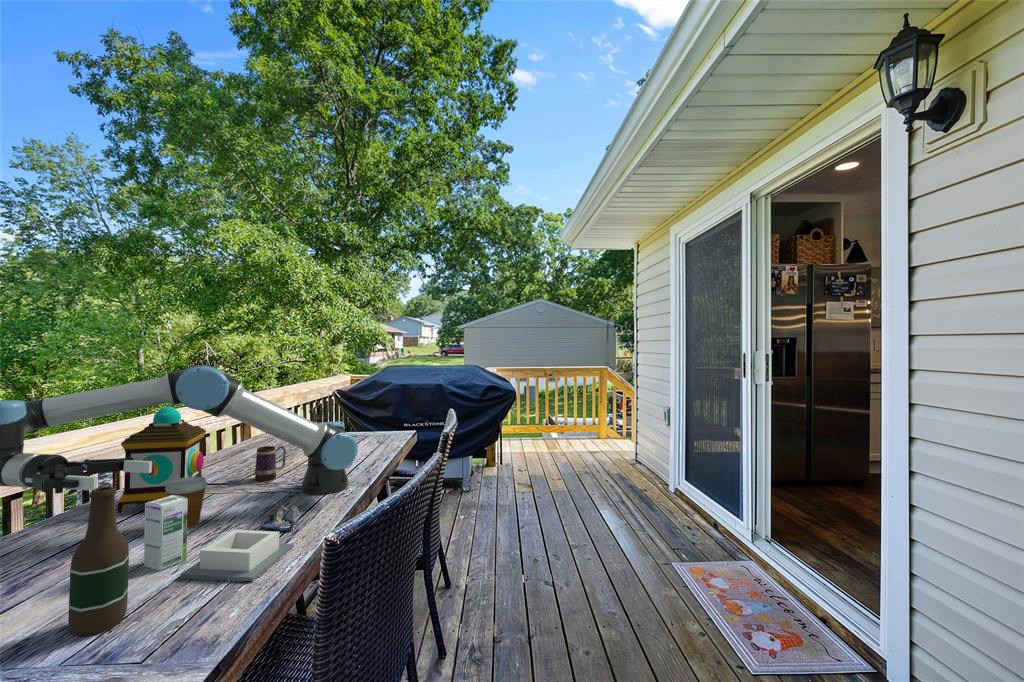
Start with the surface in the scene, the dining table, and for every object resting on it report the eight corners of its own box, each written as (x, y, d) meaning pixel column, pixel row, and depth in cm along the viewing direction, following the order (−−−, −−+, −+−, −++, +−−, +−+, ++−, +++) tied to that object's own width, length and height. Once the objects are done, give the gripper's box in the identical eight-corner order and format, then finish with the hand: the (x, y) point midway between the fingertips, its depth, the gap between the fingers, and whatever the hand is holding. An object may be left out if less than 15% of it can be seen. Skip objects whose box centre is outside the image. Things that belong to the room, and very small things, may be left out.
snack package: (317, 522, 128) (288, 514, 133) (315, 501, 127) (286, 493, 132) (280, 545, 118) (250, 535, 123) (277, 523, 117) (248, 513, 122)
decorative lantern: (211, 489, 153) (214, 402, 154) (190, 510, 134) (193, 410, 135) (140, 494, 147) (143, 403, 147) (108, 516, 128) (111, 411, 128)
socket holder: (231, 545, 112) (232, 525, 112) (293, 548, 111) (294, 528, 111) (180, 578, 96) (180, 554, 96) (252, 582, 95) (253, 558, 95)
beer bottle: (93, 611, 83) (98, 482, 84) (138, 610, 84) (142, 482, 84) (54, 639, 76) (59, 495, 76) (103, 637, 76) (108, 495, 77)
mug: (254, 483, 161) (255, 449, 162) (253, 478, 167) (254, 445, 168) (286, 479, 167) (287, 446, 167) (284, 474, 173) (285, 443, 173)
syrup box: (160, 571, 98) (162, 505, 98) (142, 566, 100) (144, 501, 100) (186, 560, 104) (188, 497, 104) (169, 555, 106) (171, 493, 106)
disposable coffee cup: (183, 533, 118) (185, 487, 118) (154, 529, 120) (155, 484, 120) (214, 520, 127) (215, 477, 127) (186, 516, 129) (188, 475, 129)
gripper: (90, 472, 116) (168, 476, 115) (-32, 505, 91) (66, 510, 90) (92, 443, 116) (170, 446, 115) (-30, 468, 91) (68, 473, 90)
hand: (125, 474), depth 103 cm, fingers open, 13 cm apart
